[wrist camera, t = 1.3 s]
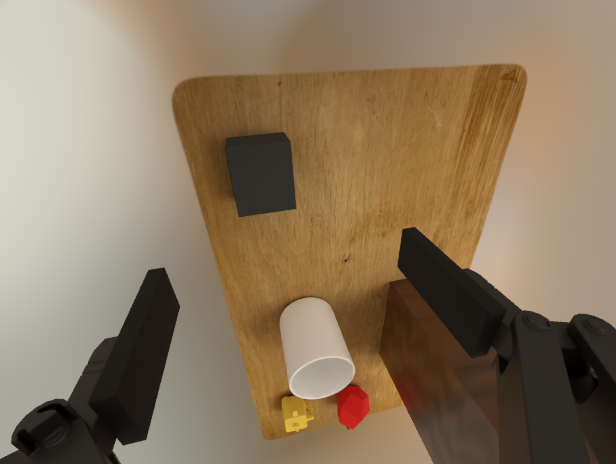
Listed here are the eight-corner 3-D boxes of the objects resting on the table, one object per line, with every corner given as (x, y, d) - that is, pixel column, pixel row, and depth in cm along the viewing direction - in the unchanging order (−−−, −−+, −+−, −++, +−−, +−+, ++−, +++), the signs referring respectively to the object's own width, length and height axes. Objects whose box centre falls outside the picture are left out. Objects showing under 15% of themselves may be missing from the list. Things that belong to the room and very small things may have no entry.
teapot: (310, 407, 58) (316, 434, 53) (282, 413, 57) (286, 442, 52) (309, 384, 54) (315, 412, 49) (279, 391, 53) (282, 420, 48)
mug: (318, 348, 49) (336, 411, 40) (267, 321, 43) (274, 388, 34) (354, 318, 47) (382, 378, 38) (306, 286, 41) (325, 347, 32)
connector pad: (226, 137, 29) (224, 148, 25) (283, 132, 30) (290, 141, 26) (239, 200, 32) (238, 217, 28) (289, 193, 33) (296, 209, 29)
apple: (358, 403, 50) (343, 443, 51) (382, 400, 54) (368, 437, 55) (335, 378, 56) (322, 414, 56) (358, 377, 60) (346, 410, 60)
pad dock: (390, 281, 44) (647, 643, 16) (446, 271, 46) (768, 585, 18) (379, 353, 53) (532, 664, 25) (426, 343, 55) (619, 624, 27)
